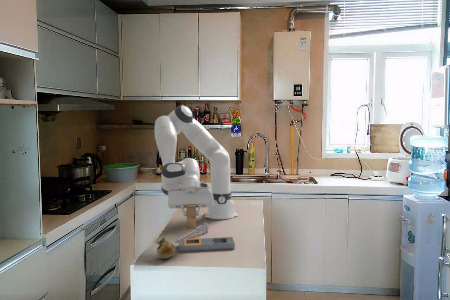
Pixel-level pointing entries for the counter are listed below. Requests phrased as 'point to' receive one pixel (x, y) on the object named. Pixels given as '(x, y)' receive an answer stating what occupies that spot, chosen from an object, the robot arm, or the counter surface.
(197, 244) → the rail
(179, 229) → the counter surface
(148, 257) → the counter surface
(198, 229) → the caliper
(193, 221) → the peg
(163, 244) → the onion
